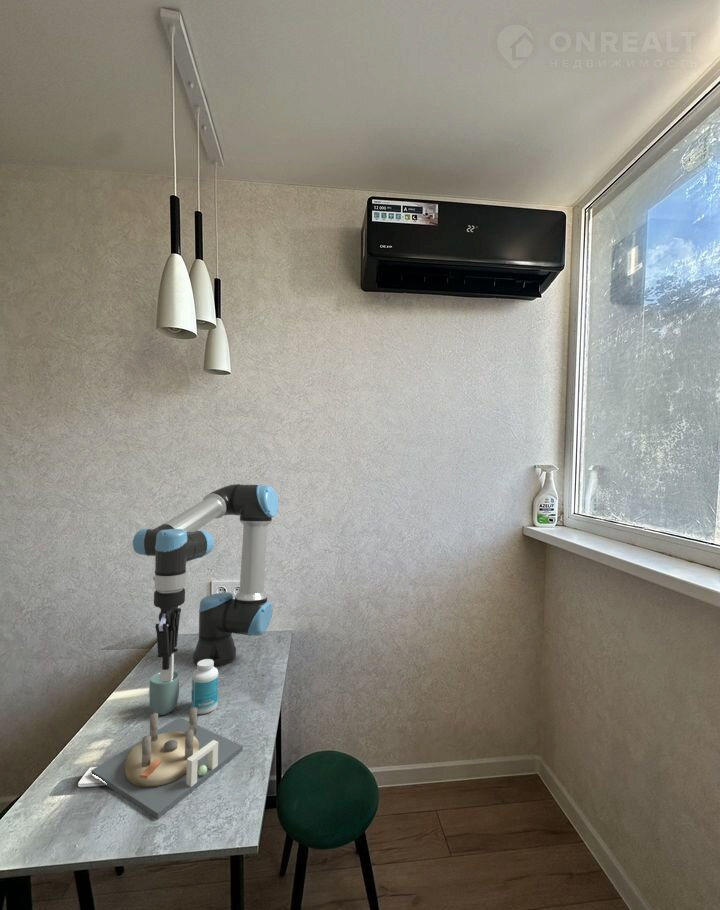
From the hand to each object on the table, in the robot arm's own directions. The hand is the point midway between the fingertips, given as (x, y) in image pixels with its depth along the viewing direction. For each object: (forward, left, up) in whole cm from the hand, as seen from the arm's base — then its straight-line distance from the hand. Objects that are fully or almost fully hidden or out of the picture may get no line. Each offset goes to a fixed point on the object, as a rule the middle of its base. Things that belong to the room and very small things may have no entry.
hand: (166, 679), depth 112 cm
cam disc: (+6, +8, -15) cm, 18 cm away
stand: (+4, +8, -16) cm, 18 cm away
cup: (-9, -12, -16) cm, 22 cm away
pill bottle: (-16, -3, -16) cm, 23 cm away
